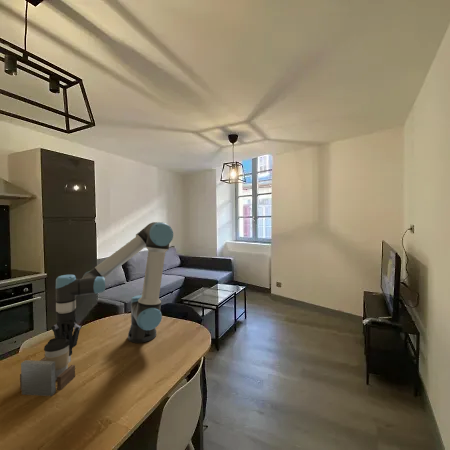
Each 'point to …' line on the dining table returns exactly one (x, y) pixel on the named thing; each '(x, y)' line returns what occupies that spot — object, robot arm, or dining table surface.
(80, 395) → the dining table surface
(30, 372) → the grey bookend
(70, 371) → the walnut shelf wall
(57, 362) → the coffee cup
